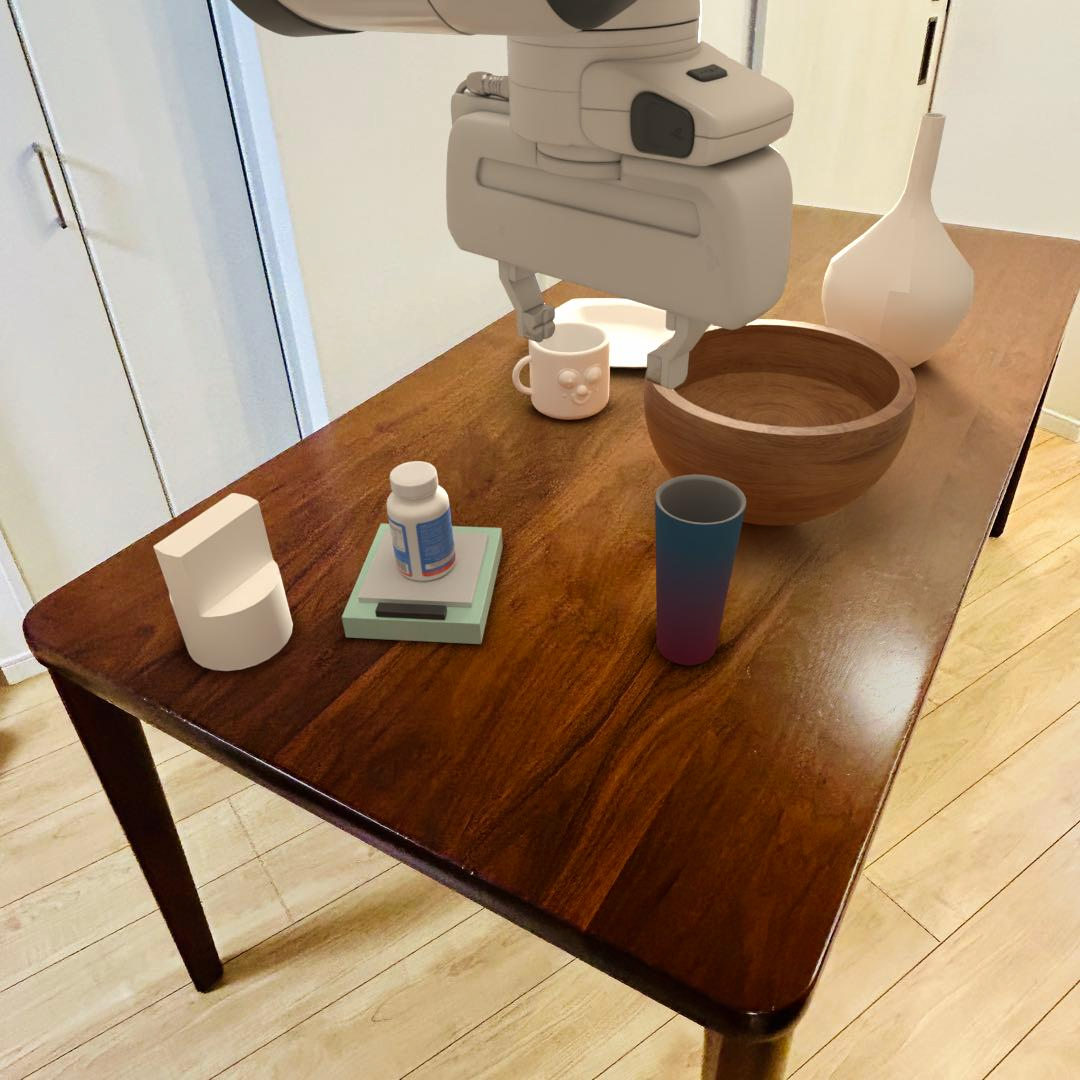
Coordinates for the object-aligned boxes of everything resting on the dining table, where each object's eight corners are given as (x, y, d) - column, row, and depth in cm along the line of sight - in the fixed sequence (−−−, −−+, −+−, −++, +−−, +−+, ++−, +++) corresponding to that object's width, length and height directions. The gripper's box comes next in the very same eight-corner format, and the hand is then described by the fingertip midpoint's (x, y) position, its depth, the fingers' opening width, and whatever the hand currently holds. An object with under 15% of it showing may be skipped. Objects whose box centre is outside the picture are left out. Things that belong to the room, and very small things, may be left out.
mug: (525, 435, 106) (522, 364, 101) (504, 397, 114) (501, 329, 109) (621, 420, 109) (623, 350, 103) (594, 383, 117) (595, 316, 111)
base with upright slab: (241, 684, 74) (206, 570, 67) (165, 649, 78) (123, 537, 71) (314, 620, 81) (288, 509, 74) (239, 590, 84) (208, 482, 77)
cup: (742, 659, 75) (764, 511, 66) (669, 682, 73) (682, 533, 64) (701, 610, 80) (716, 466, 72) (632, 630, 78) (639, 485, 70)
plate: (684, 388, 115) (685, 374, 114) (513, 367, 121) (512, 354, 120) (713, 319, 133) (714, 306, 131) (562, 304, 139) (562, 291, 138)
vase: (783, 349, 124) (817, 113, 106) (873, 317, 132) (919, 93, 114) (892, 399, 111) (951, 141, 93) (984, 361, 119) (1055, 117, 101)
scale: (481, 644, 78) (478, 617, 76) (345, 637, 79) (339, 610, 77) (502, 547, 89) (501, 521, 87) (383, 542, 90) (379, 517, 88)
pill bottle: (461, 548, 84) (452, 457, 78) (449, 584, 79) (439, 492, 74) (404, 544, 84) (391, 455, 79) (389, 580, 80) (374, 488, 74)
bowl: (802, 615, 80) (830, 469, 71) (589, 508, 94) (590, 376, 85) (929, 497, 94) (966, 364, 85) (727, 420, 108) (741, 299, 99)
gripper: (406, 76, 46) (432, 329, 55) (750, 128, 35) (718, 437, 43) (492, 59, 50) (504, 298, 58) (829, 101, 39) (785, 390, 47)
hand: (597, 358), depth 51 cm, fingers open, 8 cm apart
